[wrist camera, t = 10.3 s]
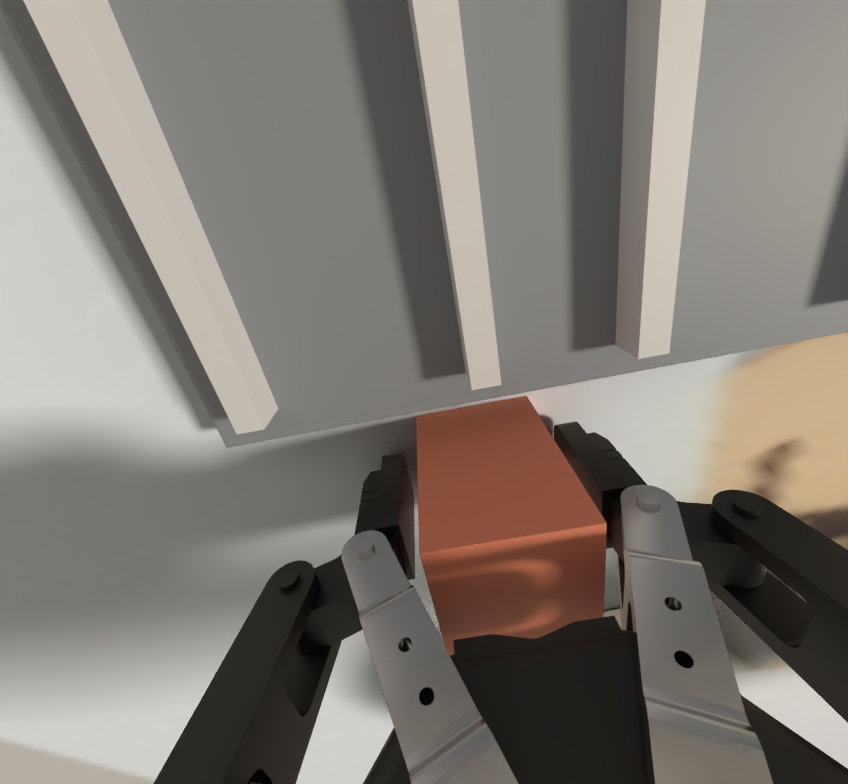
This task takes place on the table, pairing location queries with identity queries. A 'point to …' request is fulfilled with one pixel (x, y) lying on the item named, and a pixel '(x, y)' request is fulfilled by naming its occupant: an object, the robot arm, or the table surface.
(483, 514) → the cap
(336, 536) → the table surface
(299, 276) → the board
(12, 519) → the table surface
